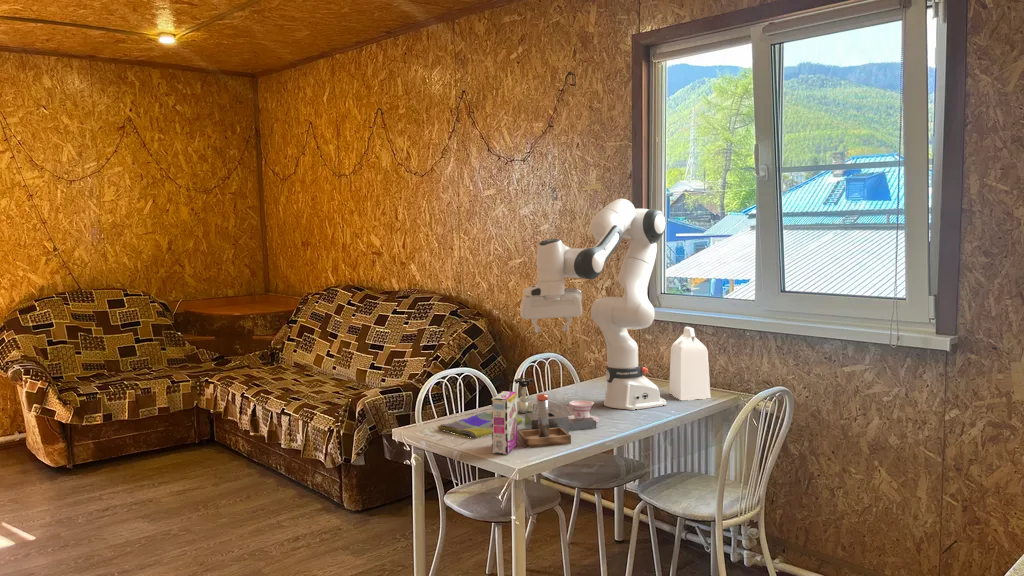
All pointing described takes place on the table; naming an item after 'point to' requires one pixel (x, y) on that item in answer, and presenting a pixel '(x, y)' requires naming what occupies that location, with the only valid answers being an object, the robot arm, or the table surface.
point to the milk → (689, 368)
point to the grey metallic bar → (543, 415)
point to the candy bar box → (504, 422)
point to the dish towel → (472, 426)
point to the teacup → (581, 409)
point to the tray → (555, 437)
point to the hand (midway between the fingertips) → (551, 331)
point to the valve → (524, 396)
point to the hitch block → (559, 421)
